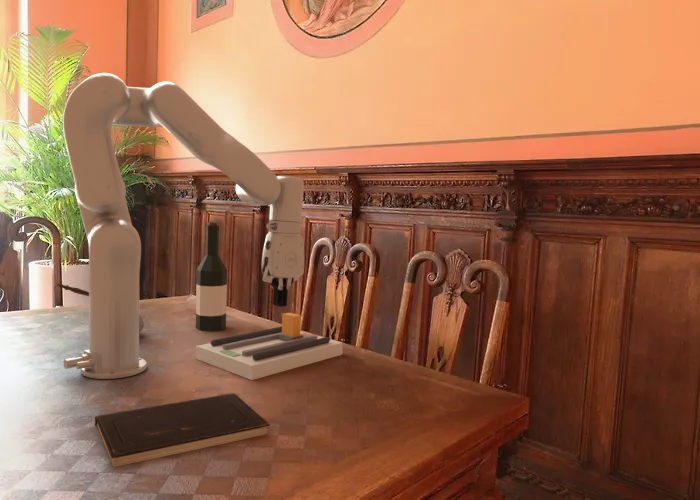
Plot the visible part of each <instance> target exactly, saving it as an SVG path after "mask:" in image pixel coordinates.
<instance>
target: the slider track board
mask: <svg viewBox="0 0 700 500" xmlns="http://www.w3.org/2000/svg"><path fill="white" fill-rule="evenodd" d="M281 333H282V332H279V333H274V334H270V335H265V336H260V337H255V338H250V339H245V340H240V341H236V342H231V343H226V344H221V345H216V346H212V345H211V342H209V343H204V344H200V345H199V344H198V345H195V346H196V347H195V360H198V361H201V362H203V363H206V364H209V365H211V366H214V367H216V368H219V369H222V370H223V371H224V370H225V371H227V372H229V373H232V374H235V375H238V376H240V377H242V378H245V379H248V380H251V381H253V380H254V381H255V380H257V379H261V378H264V377H267V376H271V375H272V376H273V375H274V374H275V375H276V374H279V373H282V372H285V371H289V370H293V369H297V368H299V367H303V366H306V365H307V366H308V365H310V364H315V363H318V362H322V361H326V360H327V359H332V358H335V357H338V356H342V355H343V350H344V349H343V346H344V343H343V342H342V341H338V340H335V339H330V341H329V342H328V343H324V344H320V345H316V346H312V347H308V348H304V349H300V350H296V351H292V352H288V353H284V354H280V355H276V356H272V357H268V358H264V359H260V360H253V358H252V357H253V355H254V354H256V353H261V352H265V351H269V350H273V349H278V348H282V347H286V346H290V345H294V344H299V343H303V342H307V341H311V340H316V339H320V338H324V337H325V336H324V337H323V336H320V335H315V334H312V333H308V332H304V331H301V330H300V334H301V335H304V337H302V338H298V339H294V340H289V341H286V340H283V339H279V338H278V334H281Z"/></svg>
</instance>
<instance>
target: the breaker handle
mask: <svg viewBox="0 0 700 500" xmlns="http://www.w3.org/2000/svg"><path fill="white" fill-rule="evenodd" d="M281 318H282V319H281V326H282V333H281V334H278V338H279V339H283V340H286V341H289V340H294V339H298V338H302V337H304V335H301V334H300V331H301V326H302V325H301V322H302V317H301V314H297V313H293V312H286V313H282V314H281Z"/></svg>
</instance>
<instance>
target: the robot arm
mask: <svg viewBox="0 0 700 500" xmlns="http://www.w3.org/2000/svg"><path fill="white" fill-rule="evenodd" d="M64 106H65V107H64V110H63V115H62V130H63V137H64V142H65V146H66V150H67V155H68V160H69V164H70V168H71V172H72V176H73V180H74V193H75V197H76V201H77V205H78V208H79V212H80V216H81V221H82V222H83V223H82V224H83V228H84V231H85V234H86V238H87V242H88V256H89V257H88V292H89V296H88V299H89V300H88V301H89V303H88V304H89V305H88V307H89V308H88V309H89V311H88V315H89V316H88V317H89V319H88V322H89V323H88V336H89V337H88V338H89V340H88V343H89V346H88V349H84V350H83V351H84V352H83V354H81V355H80V356H77V357H70V358H65V359H63V367H64V369H66V370H68V369H72V368H76V369H77V370H80V373H81V375H83V376H84V377H86V378H91V379H98V380H111V379H112V380H114V379H123V378H128V377H132V376H136V375H138V374H141V373H142V372H144V371H145V370H146V369H147V367H148V366H147V365H148V364H147V361H146V360H145V359H144V358H141V357H140V332H139V313H140V273H141V271H140V270H141V260H142V259H141V258H142V242H141V238H140V235H139V232H138V231H137V229H136V228H135V227H134V226H133V222H132V218H131V216H130V212H129V208H128V207H129V206H128V203H127V199H126V195H127V190H126V188H127V187H126V184H125V182H124V179H123V176H122V174H121V170H120V167H119V161H118V159H117V155H116V149H115V145H114V140H113V135H112V126H129V127H130V126H131V127H142V128H164V129H165V130H166V131H167V132H168V133H169V134H171V136H173V137H174V138H175V140H177V141H179V143H180V144H181V145H182V146H183V147H184V148H185V149H187V151H188V152H189V153H190V154H192V155H193V156H194V157H195V158H196V159H198V160H199V161H201V162H203V163H204V164H207V165H209V166H211V167H213V168H216V169H217V170H219V171H220V172H222V173H223V174H225V176H227V177H228V178H229V179H231V180H232V181H233V182H234V183H235V193H236V197H238V199H239V200H240V201H242V202H243V203H245V204H247V205H250V206H269V218H268V219H269V221H268V223H266V229H267V230H268V233H266V235H265V240H264V244H263V249H262V256H261V273H262V282H265V283H269V284H270V285H271V289H273V294H272V305H273V306H276V307H280V308H282V307H283V308H284V307H287V306H288V290H290V289H291V285H292V284H293V283H294V282H297V281H299V280H300V277H301V276H303V275H304V272H305V244H304V243H305V242H304V237H303V235H301V232H302V218H303V202H304V189H305V187H304V185H305V183H304V180H303V179H302V178H300V177H299V176H298V177H297V176H292V175H276V174H275V173H274V171H272V170H271V168H270V167H268V166H267V164H265V162H264V161H263V160H261V158H260V157H259V156H258V155H256V154H255V153H254V152H253V151H251V149H249V148H248V147H247V146H246V145H244V144H243V143H241V142H240V141H239V140H238V139H236V138H235V137H234V136H232V134H229V133H228V132H227V131H226V130H225V129H223V128H222V127H221V126H220V125H219V124H218V123H217V122H216V121H215V120H214V119H213V118H212V117H211V116H210V115H209V114H208V113H207V112H206V111H205V110H204V109H203V108H202V107H201V105H199V104H198V103H197V102H196V101H195V100H194V99H193V98H192V97H191V96H190V95H189V94H188V93H187V92H186V91H185V90H184V89H183V88H182V87H181V86H179V85H177V84H176V83H174V82H171V81H160V82H157V83H156V84H154V85H152V86H151V87H138V86H137V87H135V86H127V85H126V83H125V82H124V80H122V79H121V78H119V76H117V75H115V74H113V73H109V72H100V73H95V74H92V75H90V76H89V77H87V78H85V79H84V80H82V81H81V82H80V83H79V84H78V85H76V87H75V88H74V89H73V90H72V92H71V93H70V95H69V96H68V98H67V101H66V103H65V105H64Z"/></svg>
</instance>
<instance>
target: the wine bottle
mask: <svg viewBox="0 0 700 500" xmlns="http://www.w3.org/2000/svg"><path fill="white" fill-rule="evenodd" d="M205 234H206V235H205V238H206V239H205V240H206V241H205V256H204V257H203V259H201V260H202V261H201V262H200V264H199V265H198V266H197V268H196V277H195V278H196V279H195V280H196V281H195V284H196V285H195V291H196V293H195V329H197V330H198V331H205V332H215V331H222V330H224V329H226V328H227V292H228V291H227V290H228V286H227V285H228V269H227V267H226V265H225V264H224V262H223V260H222V259H221V257H220V256H219V243H220V240H219V238H220V225H218V222H217V221H208V222H207V224H206V230H205Z"/></svg>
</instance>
